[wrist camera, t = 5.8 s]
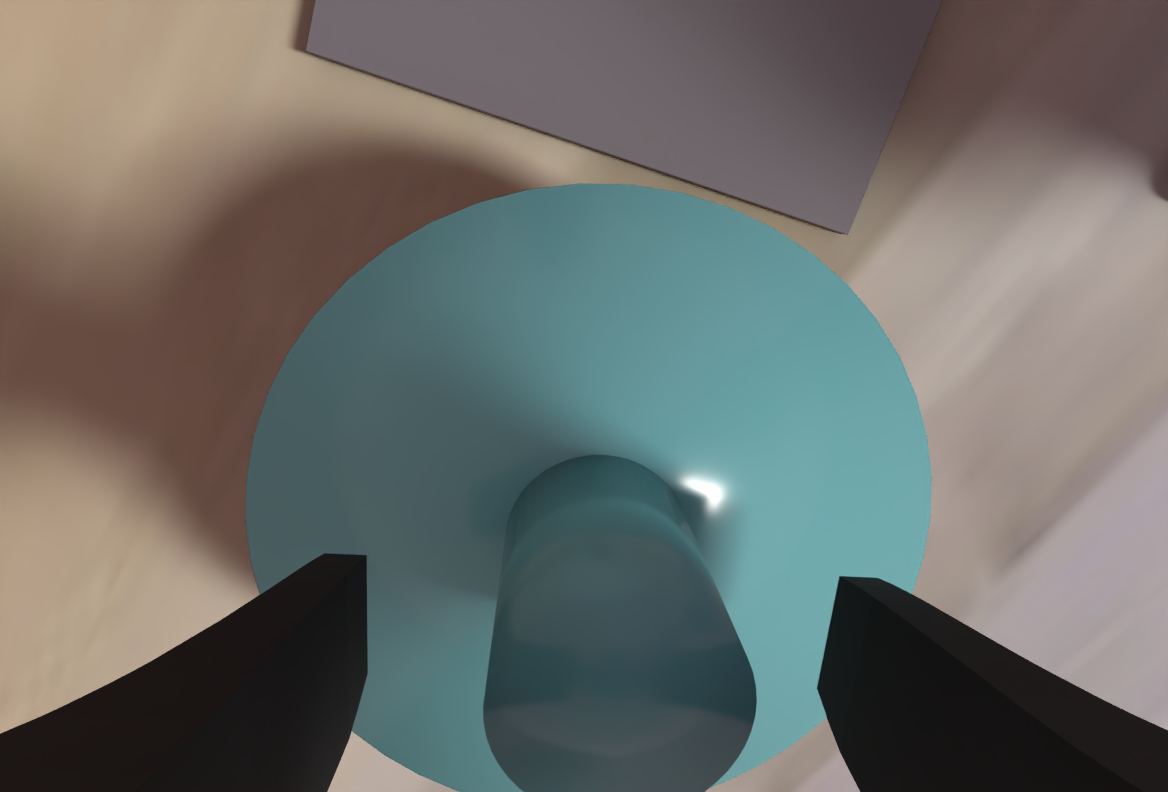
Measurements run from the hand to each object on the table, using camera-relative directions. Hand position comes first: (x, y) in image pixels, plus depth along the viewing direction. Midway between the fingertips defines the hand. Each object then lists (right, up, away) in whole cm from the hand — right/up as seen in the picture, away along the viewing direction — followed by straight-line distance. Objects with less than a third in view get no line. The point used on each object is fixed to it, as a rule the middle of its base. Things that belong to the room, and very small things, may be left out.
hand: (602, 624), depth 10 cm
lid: (0, +1, +2) cm, 3 cm away
